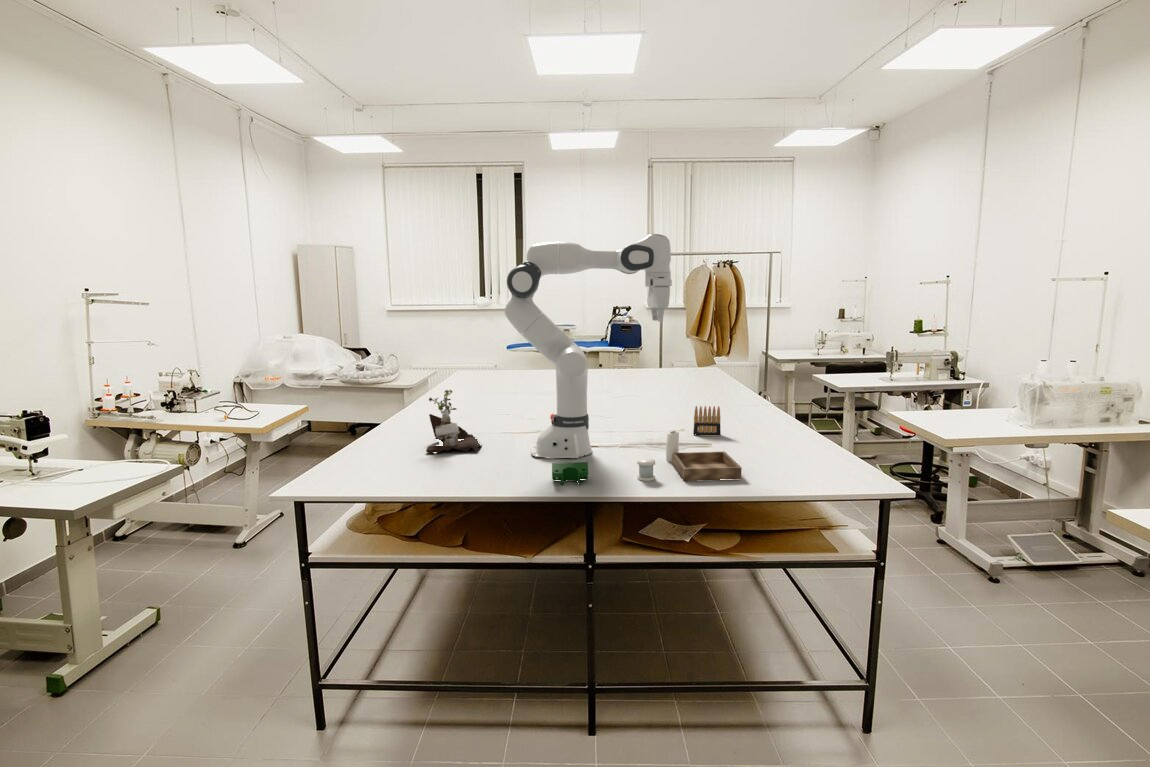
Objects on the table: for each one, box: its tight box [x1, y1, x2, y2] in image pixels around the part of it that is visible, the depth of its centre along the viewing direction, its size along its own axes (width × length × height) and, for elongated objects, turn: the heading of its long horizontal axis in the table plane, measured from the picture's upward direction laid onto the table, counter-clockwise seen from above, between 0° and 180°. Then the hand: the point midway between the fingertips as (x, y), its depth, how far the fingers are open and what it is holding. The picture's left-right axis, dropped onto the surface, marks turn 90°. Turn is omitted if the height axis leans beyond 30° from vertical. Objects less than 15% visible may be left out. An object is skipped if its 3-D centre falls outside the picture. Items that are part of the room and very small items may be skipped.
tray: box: [671, 450, 743, 482], centre depth 191 cm, size 18×18×4 cm
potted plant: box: [425, 389, 481, 453], centre depth 226 cm, size 20×19×25 cm
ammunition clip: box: [692, 405, 722, 436], centre depth 237 cm, size 11×2×12 cm, turn 83°
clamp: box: [551, 461, 589, 485], centre depth 182 cm, size 12×6×9 cm, turn 86°
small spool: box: [636, 457, 656, 482], centre depth 185 cm, size 6×6×6 cm
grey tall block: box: [665, 429, 680, 463], centre depth 203 cm, size 4×4×11 cm
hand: (657, 320), depth 209 cm, fingers open, 8 cm apart
